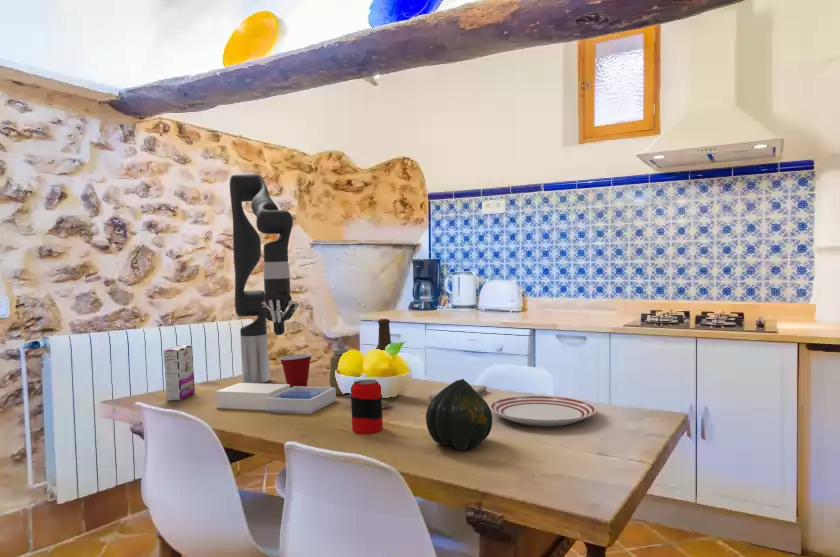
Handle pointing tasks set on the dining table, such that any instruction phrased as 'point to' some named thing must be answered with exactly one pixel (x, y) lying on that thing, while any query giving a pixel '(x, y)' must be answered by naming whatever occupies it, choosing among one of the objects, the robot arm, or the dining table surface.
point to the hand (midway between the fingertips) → (279, 334)
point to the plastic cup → (296, 369)
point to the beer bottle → (383, 334)
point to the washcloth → (479, 388)
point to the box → (301, 401)
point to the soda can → (366, 407)
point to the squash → (459, 416)
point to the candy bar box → (179, 372)
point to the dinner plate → (542, 410)
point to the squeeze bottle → (336, 364)
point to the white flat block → (248, 395)
